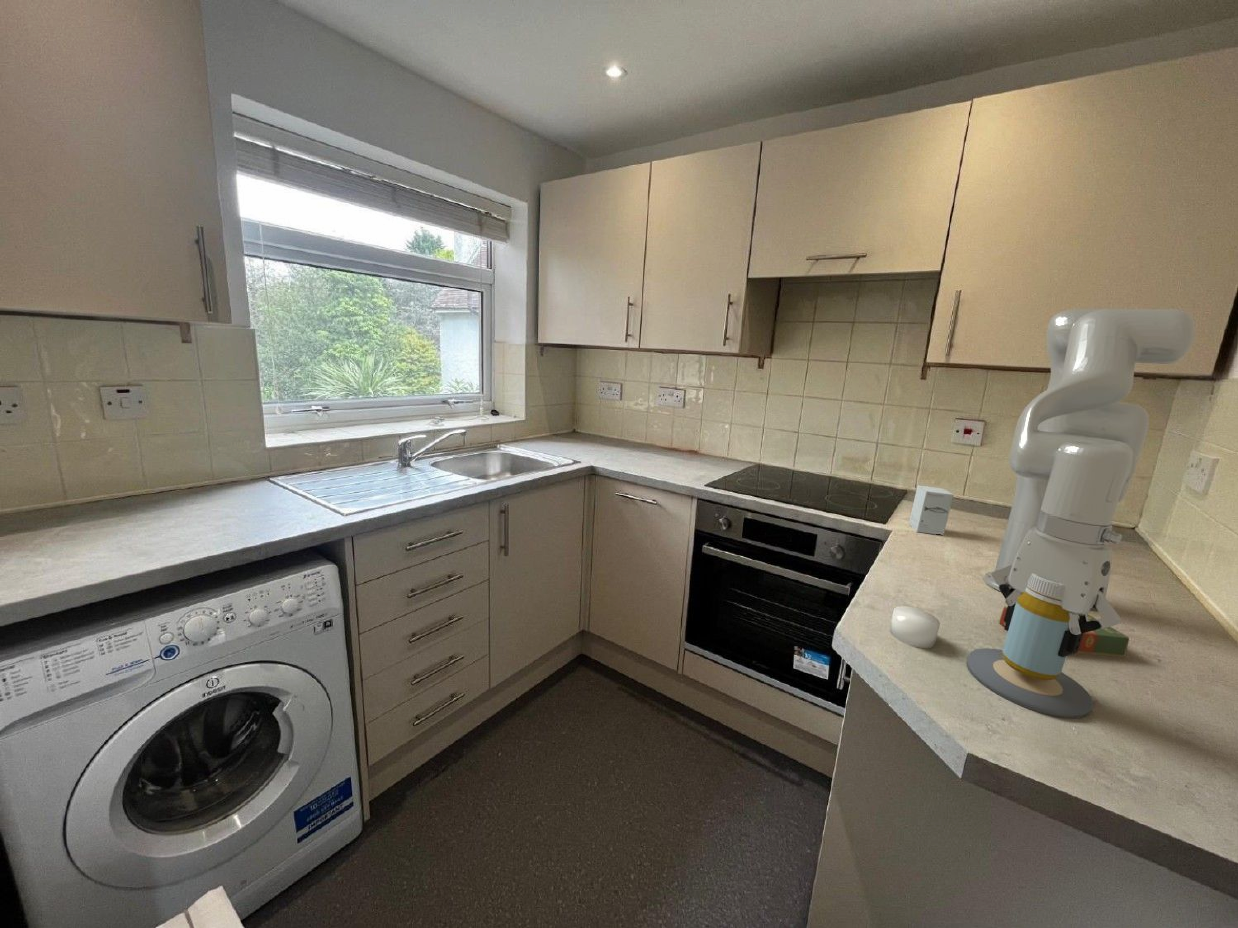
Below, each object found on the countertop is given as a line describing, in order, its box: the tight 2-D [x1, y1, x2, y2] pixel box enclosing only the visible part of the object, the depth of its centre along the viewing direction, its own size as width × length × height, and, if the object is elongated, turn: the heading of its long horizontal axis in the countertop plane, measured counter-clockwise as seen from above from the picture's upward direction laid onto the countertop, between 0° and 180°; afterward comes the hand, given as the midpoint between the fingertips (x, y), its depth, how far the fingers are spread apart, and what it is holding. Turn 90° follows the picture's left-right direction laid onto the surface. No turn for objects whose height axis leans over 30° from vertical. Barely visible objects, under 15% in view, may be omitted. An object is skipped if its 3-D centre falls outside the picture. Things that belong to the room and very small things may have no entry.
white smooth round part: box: [888, 605, 941, 649], centre depth 87 cm, size 7×7×4 cm
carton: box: [998, 605, 1130, 658], centre depth 90 cm, size 8×16×4 cm, turn 88°
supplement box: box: [908, 484, 954, 536], centre depth 146 cm, size 7×7×13 cm
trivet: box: [966, 647, 1094, 719], centre depth 76 cm, size 15×15×1 cm
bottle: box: [1002, 574, 1079, 680], centre depth 74 cm, size 7×7×15 cm
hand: (1037, 640), depth 75 cm, fingers closed on bottle, 6 cm apart
